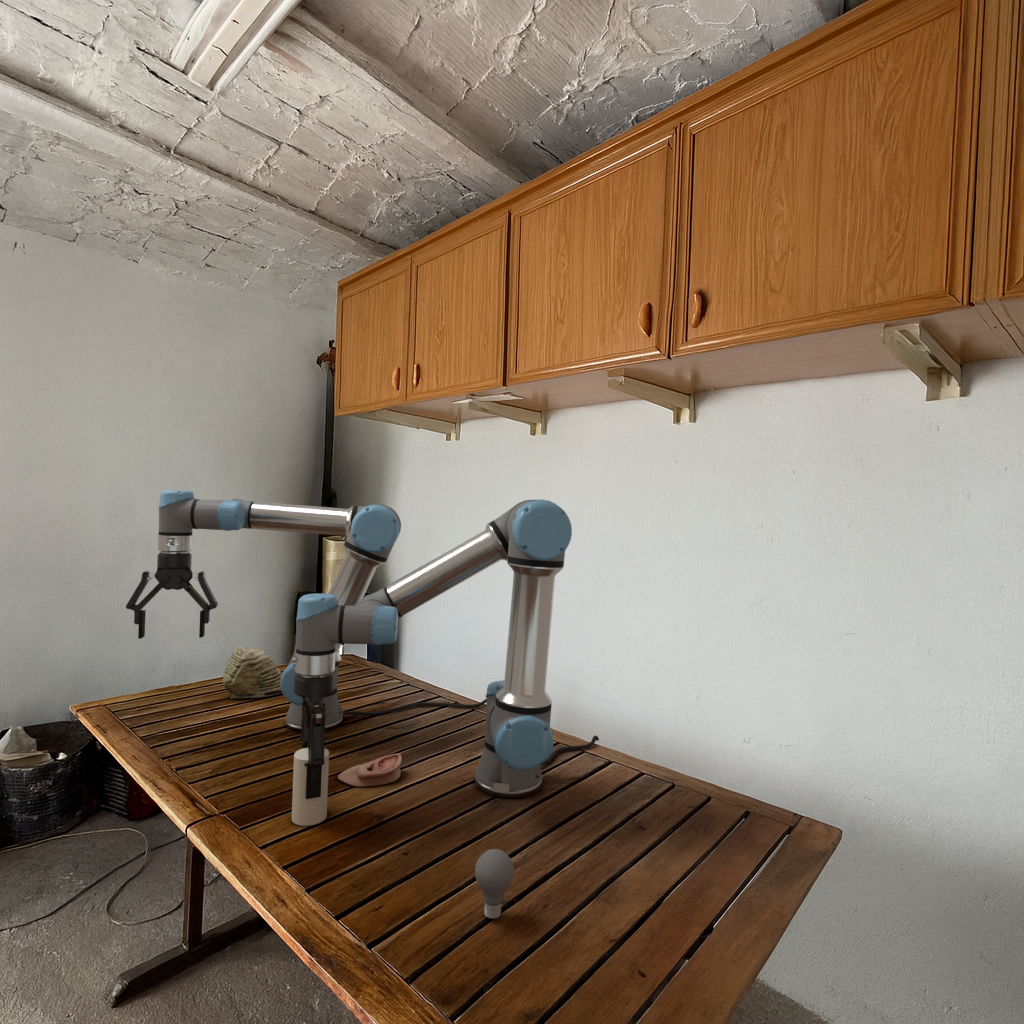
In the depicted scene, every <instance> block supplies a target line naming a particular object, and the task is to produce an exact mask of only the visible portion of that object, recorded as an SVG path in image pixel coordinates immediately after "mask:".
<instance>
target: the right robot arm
mask: <svg viewBox="0 0 1024 1024" xmlns="http://www.w3.org/2000/svg"><path fill="white" fill-rule="evenodd" d="M572 535H573V527H572V522H571V520H570V517H569V516H568V514H567V513H566V511H565V510H564V509H563V508H562V507H561V506H559V505H558V504H557V503H555V502H553V501H551V500H547V499H525V500H522V501H520V502H517V503H516V504H515V505H514V506H512V507H510V509H507V510H506V511H505V512H504V513H503V514H501V515H500V516H498V517H496V518H495V519H493V520H491V521H490V522H488V523H486V527H485V529H484V530H483V531H482V532H479V533H478V534H476V535H475V536H473V537H471V538H469V539H467V540H465V541H464V542H462V543H460V544H458V545H457V546H454V547H453V548H451V549H450V550H448V551H446V552H444V553H442V554H441V555H439V556H437V557H435V558H434V559H431V560H430V561H428V562H427V563H425V564H423V565H421V566H419V567H418V568H416V569H414V570H413V571H411V572H409V573H407V574H405V575H404V576H402V577H399V579H396V580H395V581H393V582H391V583H389V584H387V585H386V586H385V587H382V588H380V589H379V590H376V591H375V592H373V593H369V594H367V595H364V597H363V598H362V599H361V601H360V602H359V603H358V605H357V606H344V605H338V602H337V597H336V596H335V595H332V594H328V593H322V592H321V593H317V592H316V593H308V594H304V595H302V596H301V597H300V598H299V599H298V602H297V612H296V618H295V622H296V623H295V624H296V625H295V626H296V627H295V646H296V656H297V657H295V658H293V659H292V662H294V663H295V672H296V673H297V674H296V675H295V678H294V693H295V694H296V695H297V696H300V697H302V722H301V731H300V738H299V741H300V742H301V744H300V747H301V749H303V748H307V747H308V763H304V767H307V772H306V799H311V798H317V797H321V775H322V765H324V763H325V760H324V748H325V741H326V740H325V735H326V730H325V718H326V713H325V703H323V700H322V698H323V697H324V696H327V695H330V694H331V693H332V692H333V691H334V674H333V673H332V672H333V671H334V670H335V655H336V651H335V645H336V644H342V645H343V644H344V645H376V646H381V645H392V644H394V643H396V641H397V637H398V627H399V626H398V624H399V622H398V621H399V619H400V618H402V617H403V616H405V615H407V614H409V613H410V612H412V611H415V610H416V609H417V608H419V607H421V606H423V605H425V604H426V603H428V602H430V601H431V600H433V599H436V598H437V597H439V596H441V595H442V594H444V593H446V592H447V591H450V590H451V589H452V588H455V587H456V586H458V585H460V584H461V583H464V582H465V581H467V580H469V579H470V578H472V577H474V576H476V575H477V574H480V573H481V572H483V571H485V570H487V569H488V568H489V567H492V566H494V565H495V564H497V563H499V562H501V561H505V562H506V563H507V565H508V566H509V568H511V570H512V572H513V575H512V576H513V578H512V588H511V601H510V612H509V625H508V634H507V635H508V636H507V645H506V656H505V657H506V658H505V671H504V680H495V681H491V682H490V683H488V685H487V688H486V693H485V698H486V699H487V700H486V703H485V721H484V722H485V725H484V726H485V727H484V745H483V749H482V750H483V751H482V753H481V756H480V759H479V761H478V764H477V766H476V770H475V773H474V784H475V787H477V789H478V790H480V791H482V792H483V793H485V794H488V795H490V796H493V797H498V798H508V799H516V798H524V797H527V796H532V795H534V794H536V793H537V792H539V791H540V789H541V788H542V785H543V775H542V774H543V773H542V770H541V767H540V766H544V765H547V764H549V763H551V762H552V761H553V760H554V758H555V757H556V756H557V755H558V754H559V753H562V752H566V751H579V750H585V749H590V748H591V747H593V746H594V745H595V743H596V741H600V738H599V736H597V735H593V736H592V739H591V741H590V742H589V743H586V744H580V745H569V746H567V745H566V746H562V747H559V748H557V749H555V750H554V751H553V749H554V732H553V729H552V727H551V718H552V717H551V716H552V704H553V699H552V697H551V696H550V694H549V693H547V691H546V688H547V687H546V686H547V676H548V666H549V653H550V644H551V643H550V642H551V631H552V619H553V609H554V608H553V607H554V597H555V587H556V586H555V583H556V576H557V575H558V574H559V573H560V572H562V570H563V569H564V567H565V556H566V550H567V549H568V547H569V545H570V543H571V541H572V537H573V536H572Z"/></svg>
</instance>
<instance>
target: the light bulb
mask: <svg viewBox="0 0 1024 1024" xmlns="http://www.w3.org/2000/svg"><path fill="white" fill-rule="evenodd" d="M514 874H515V867H514V863H513V861H512V859H511V857H510V856H509V855H508V854H507V853H506V852H505V851H503V850H501V849H498V848H491V849H487V850H486V851H484V852H483V853H482V854H481V855H480V856H479V857H478V859H477V861H476V863H475V867H474V876H475V880H476V882H477V884H478V886H479V888H480V890H481V893H482V899H483V901H484V910H483V911H484V912H483V914H484V916H485V917H487V918H489V919H498V918H499V917H501V914H502V903H503V901H504V898H505V893H506V891H507V890H508V888H509V887H510V885H511V883H512V882H513V879H514V876H515V875H514Z"/></svg>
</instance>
